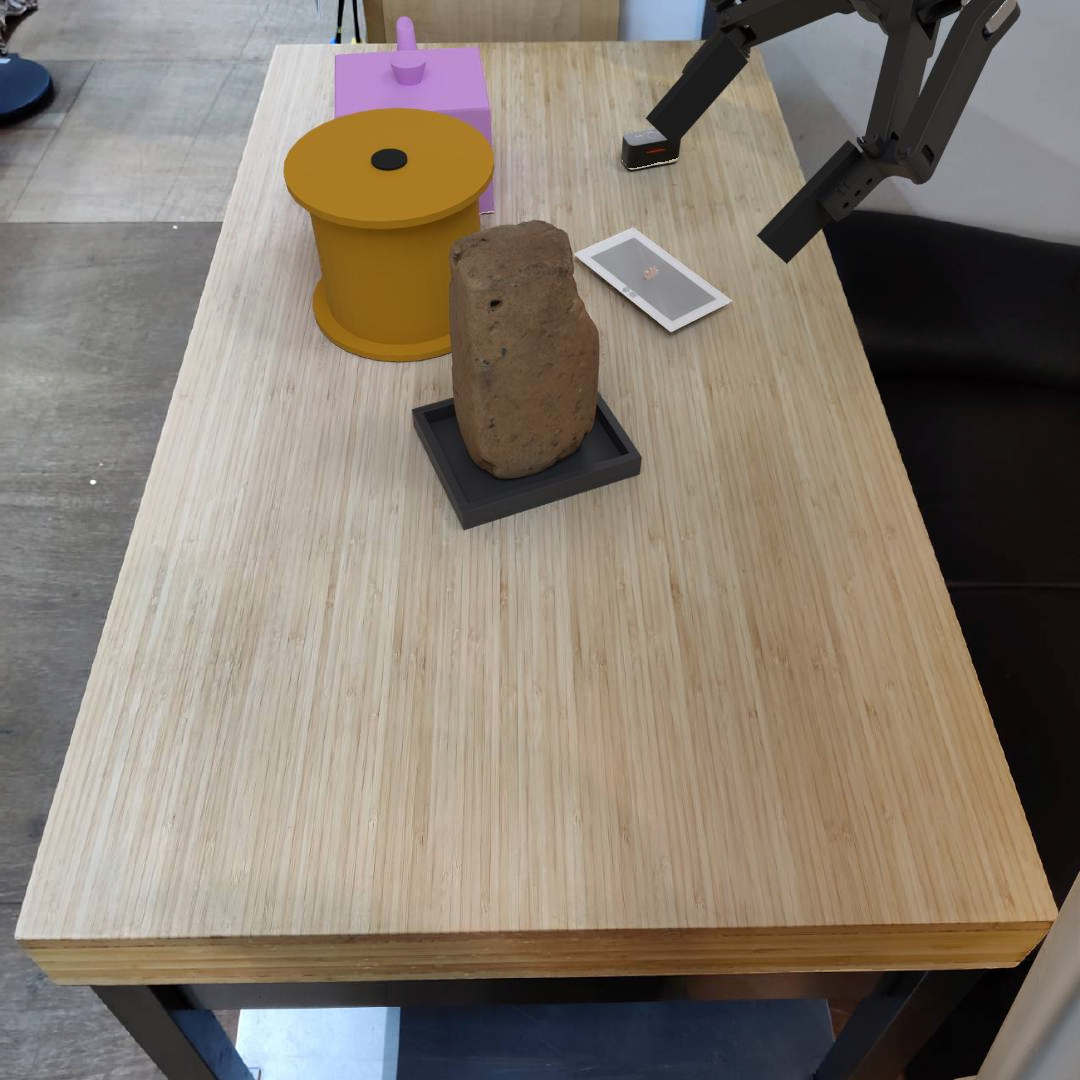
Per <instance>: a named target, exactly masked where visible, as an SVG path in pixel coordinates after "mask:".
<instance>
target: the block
mask: <svg viewBox="0 0 1080 1080" xmlns="http://www.w3.org/2000/svg"><path fill="white" fill-rule="evenodd" d="M573 258H574V253H573V250H572V246H571V241H570V238H569V234H568V232H566V231H565V230H564V229H562V228H558V227H557V226H555V225H554V224H553V223H550V222H547V221H545V220H539V219H533V220H529V221H522V222H520V223H517V224H508V223H507V224H499V225H495V226H492V227H489V228H486V229H483V230H480V231H479V232H476V233H473V234H470V235H468V236H465V237H463V238H461V239H459V240H457V241H455V242H454V243H453V245H452V246H451V248H450V252H449V265H450V273H451V280H450V284H449V321H450V343H451V352H450V353H451V380H452V383H451V384H452V396H453V397H454V406H455V411H456V417H457V421H458V424H459V428H460V431H461V435H462V437H463V440H464V442H465V445H466V447H467V449H468V452H469V454H470V457H471V458H472V460H473V461H474V462H475V464H476V465H477V466H479V467H480V468H481V469H486V470H487V471H488V472H490V473H491V474H493V475H494V476H495V477H498V478H502V479H507V478H519V477H524V476H528V475H533V474H536V473H539V472H541V471H543V470H545V469H546V468H548V467H550V466H552V465H553V464H554V463H555V462H556V461H561V460H563V459H564V458H566V457H568V456H570V455H572V454H573V453H574V452H575V451H576V449H577V448H578V447H579V446H580V444H581V441H582V440H583V439H585V436H586V435H587V434H588V433H589V432H590V431H591V429H592V427H593V423H594V418H595V413H596V404H597V395H598V392H599V372H600V353H601V352H600V335H599V329H598V327H597V324H596V323H595V322H594V320H593V319H592V318H591V317H590V314H589V312H588V311H587V308H586V305H585V302H584V301H583V299H582V298H581V296H580V295H579V292H578V286H577V281H576V279H575V277H574V274H575V263H574V259H573ZM453 397H452V398H453Z"/></svg>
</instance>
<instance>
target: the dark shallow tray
mask: <svg viewBox="0 0 1080 1080" xmlns="http://www.w3.org/2000/svg"><path fill="white" fill-rule="evenodd" d="M411 414H412V415H411V416H412V422H413V428H414V430H415V432H416V434H417V436H418V438H419V440H420V442H421V444H422V447H423V448H424V450H425V452H426V455H427V457H428V460H429V461H430V463H431V465H432V467H433V469H434V472H435V473H436V475H437V477H438V480H439V482H440V484H441V486H442V488H443V491H444V492H445V494H446V497H447V499H448V501H449V503H450V505H451V506H452V509H453V511H454V513H455V515H456V517H457V519H458V521H459V523H460V525H461V527H462V529H463V530H464V531H465V530H469V529H471V528H475V527H478V526H481V525H484V524H488V523H491V522H493V521H497V520H501V519H504V518H506V517H509V516H512V515H516V514H519V513H523V512H525V511H529V510H531V509H535V508H538V507H541V506H544V505H548V504H550V503H553V502H557V501H560V500H563V499H565V498H566V499H567V498H569V497H573V496H575V495H579V494H582V493H586V492H588V491H593V490H595V489H597V488H601V487H604V486H607V485H610V484H613V483H616V482H620V481H623V480H626V479H629V478H632V477H636V476H639V475H640V474H641V468H642V459H643V457H642V455H641V454H640V451H639V450H638V449H637V447H636V446H635V444H634V442H632V441H633V440H632V439H631V437H629V435H628V434H627V432H626V431H625V429H624V427H623V426H622V425H621V423H620V421H619V420H618V418H617V417H616V415H614V412H613V411H612V409H611V408H610V406H609V405H608V403H607V402H606V401H605V399H604V398H603V396H602V395H601V393H600V391H598V395H597V404H596V413H595V418H594V423H593V427H592V429H591V431H590V432H589V433H588V434H587V435H586V436H585V439H583V440H582V441H581V444H580V446H579V447H578V448H577V449H576V451H575V452H574V453H573V454H572V455H570V456H568V457H566V458H564V459H563V460H561V461H556V462H555V463H554V464H553V465H552V466H550V467H548V468H546V469H545V470H543V471H541V472H539V473H536V474H533V475H528V476H524V477H519V478H507V479H502V478H498V477H495V476H494V475H493V474H491V473H490V472H488V471H487V470H486V469H481V468H480V467H479V466H477V465H476V464H475V462H474V461H473V460H472V458H471V457H470V454H469V452H468V449H467V447H466V445H465V442H464V440H463V437H462V435H461V431H460V428H459V424H458V421H457V417H456V411H455V406H454V397H450V398H446V399H442V400H439V401H435V402H431V403H428V404H425V405H421V406H418V407H414V408H412V409H411Z"/></svg>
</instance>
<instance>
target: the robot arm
mask: <svg viewBox="0 0 1080 1080" xmlns="http://www.w3.org/2000/svg"><path fill="white" fill-rule="evenodd" d="M736 1H737V0H709V5H710V7H711V8H712V9H713V10H714V13H715V17H716V22H715V23H716V24H715V25H716V26H715V28H714V30H713V31H712V33H711V34H710V35H709V37H707V39H705V41H704V42H703V43H702V45H701V46H700V47H699V48H698V49H697V51H696V52H695V53H694V54H692V57H690V59H689V60H688V61H687V62H686V63H685V64H684V67H683V69H682V71H681V73H682V74H681V76H680V77H679V78H678V79H677V80H676V82H675V83H674V84H673V85H672V86H671V88H670V89H669V90H668V91H667V92H666V93H665V94H664V96H663V97H661V99H660V100H659V101H658V103H657V104H655V106H654V107H653V109H652V110H651V111H650V112H649V113H648V114H647V115H646V116H645V120H647V122H648V123H649V124H650V125H651V126H652V127H653V128H656V129H657V130H658V131H659V132H660V133H661V134H662V135H663V136H664V137H665V138H666V139H667V140H668V141H669V142H671V143H672V144H673V145H674V146H675V145H676V144H677V143H678V142H679V141H680V140H681V141H682V139H683V137H684V136H685V135H686V134H687V133H688V132H689V131H690V129H691V128H692V127H694V125H695V124H696V123H697V122H698V121H699V119H700V118H701V117H702V116H703V114H705V112H707V110H708V109H709V108H710V107H711V106H712V104H713V103H714V102H715V101H716V100H717V99H718V98H719V96H720V95H721V94H722V93H723V92H724V91H725V90H726V88H727V87H728V86H729V85H730V84H731V83H732V81H734V79H735V78H736V77H737V76H738V75H739V74H740V72H742V70H743V69H744V68H745V67H746V66H747V64H748V63H749V61H748V59H749V58H751V48H754V47H756V46H758V45H762V44H764V43H767V42H768V41H771V40H774V39H776V38H778V37H780V36H782V35H785V34H788V33H790V32H792V31H795V30H798V29H800V28H802V27H806V26H808V25H810V24H812V23H814V22H817V21H819V20H820V21H821V20H822V19H824V18H827V17H829V16H831V15H834V14H842V15H849V14H850V15H851V14H853V13H856V12H857V14H858V15H859V17H861V18H862V19H864V20H865V21H866V22H869V23H873V24H877V25H878V26H879V27H880V29H881V31H882V32H883V34H884V35H886V36H887V41H886V45H885V49H884V54H883V58H882V61H881V66H880V70H879V75H878V80H877V83H876V87H875V91H874V96H873V100H872V103H871V108H870V112H869V115H868V116H869V117H868V121H867V125H866V129H865V133H864V135H862V136H861V137H860V136H857V137H856V143H857V145H858V146H859V148H860V149H861V150H862V151H860V150H859V148H858V147H857V146H856V144H854V143H852V142H851V141H850V140H849V139H847V140H846V141H845V142H844V143H843V144H842V145H841V146H840V147H839V148H838V149H837V150H836V152H835V153H833V155H832V156H831V157H830V158H829V159H828V160H827V161H826V162H825V163H824V164H823V165H822V166H821V167H820V168H819V169H818V170H817V171H816V172H815V174H814V175H812V177H811V178H810V179H808V181H807V182H806V183H805V184H804V185H802V187H801V188H800V189H799V190H798V191H797V192H796V194H794V195H793V197H792V198H791V199H790V200H789V201H788V202H787V203H786V204H785V205H784V206H783V207H782V208H781V209H780V210H779V211H778V212H777V213H776V215H775V216H773V217H772V218H771V220H769V222H768V223H767V224H765V226H764V227H763V228H762V229H761V230H760V231H759V232H758V233H756V237H758V239H759V240H760V241H761V243H763V244H764V245H765V246H766V247H767V248H768V249H770V250H771V252H773V253H774V254H775V256H777V257H778V258H779V259H781V260H782V261H783V262H784V263H785V264H786V265H788V264H789V263H790V262H791V261H792V260H793V259H794V258H795V257H796V256H797V255H798V254H799V252H801V250H803V248H805V246H806V245H808V243H810V241H811V240H812V239H813V238H814V237H816V236H817V234H819V232H820V231H821V230H822V229H823V228H824V227H825V226H826V225H827V224H828V223H829V222H830V221H831V220H832V219H834V220H835V221H836V222H839V221H841V220H844V218H846V217H848V216H849V215H850V214H851V213H852V212H853V211H854V210H855V208H857V207H858V206H859V205H860V204H861V202H863V201H864V200H865V198H866V197H868V196H869V195H870V194H871V193H872V192H873V190H874V189H875V188H877V187H878V186H879V185H880V183H881V182H883V181H884V180H886V179H888V178H891V177H898V178H899V177H900V178H903V179H907V180H909V181H911V182H912V183H913V184H914V185H916V186H920V185H924V184H926V183H927V182H929V181H930V180H931V178H932V177H933V175H934V173H935V171H936V169H937V168H938V165H939V163H940V161H941V159H942V157H943V155H944V153H945V151H946V148H947V145H948V144H949V142H950V141H951V138H952V135H953V133H954V131H955V130H956V127H957V125H958V123H959V120H960V119H961V116H962V114H963V112H964V110H965V108H966V106H967V104H968V102H969V100H970V97H971V96H972V93H973V92H974V89H975V87H976V85H977V83H978V80H979V78H980V76H981V74H982V72H983V71H984V69H985V66H986V64H987V63H988V62H987V61H988V59H989V58H990V55H991V53H992V51H993V49H994V48H995V47H996V46H997V45H998V43H1000V41H1001V40H1002V39H1003V38H1004V37H1005V35H1006V34H1007V33H1008V31H1009V30H1010V29H1011V28H1012V27H1013V26H1014V25H1015V23H1016V22H1017V21H1018V19H1019V18H1020V16H1021V13H1022V10H1021V7H1020V5H1019V3H1018V1H1017V0H739V1H740V3H738V2H736ZM958 12H959V13H958ZM956 13H958V15H957V17H956V18H955V20H954V22H953V24H952V25H951V28H950V29H949V32H948V34H947V35H946V38H945V40H944V42H943V44H942V47H941V48H940V51H939V52H938V55H937V57H936V58H935V60H934V61H935V62H934V64H933V65H932V68H931V70H930V72H929V73H928V76H927V79H926V81H925V83H924V85H923V87H922V84H923V80H924V76H925V72H926V66H927V63H928V59H930V58H932V57H933V56H934V53H935V49H936V44H937V40H938V36H939V31H940V28H941V23H942V19H944V18H946V17H949V16H951V15H953V14H956ZM921 88H922V89H921ZM954 1080H1080V871H1079V872H1078V873H1077V876H1076V878H1075V880H1074V882H1073V884H1072V886H1071V888H1070V890H1069V892H1068V893H1067V896H1066V898H1065V899H1064V901H1063V904H1062V905H1061V908H1060V909H1059V912H1058V914H1057V915H1056V917H1055V919H1054V921H1053V923H1052V926H1051V927H1050V929H1049V931H1048V933H1047V935H1046V938H1045V939H1044V941H1043V943H1042V945H1041V947H1040V949H1039V951H1038V953H1037V955H1036V957H1035V959H1034V961H1033V962H1032V965H1031V967H1030V969H1029V971H1028V973H1027V974H1026V976H1025V979H1024V980H1023V983H1022V985H1021V986H1020V989H1019V991H1018V993H1017V995H1016V997H1015V998H1014V1001H1013V1002H1012V1005H1011V1007H1010V1009H1009V1011H1008V1013H1007V1015H1006V1017H1005V1019H1004V1021H1003V1023H1002V1024H1001V1026H1000V1028H999V1031H998V1032H997V1034H996V1036H995V1038H994V1041H993V1042H992V1044H991V1046H990V1048H989V1051H988V1052H987V1054H986V1056H985V1058H984V1060H983V1062H982V1064H981V1066H980V1068H979V1070H978V1072H977V1074H976V1075H970V1076H964V1077H958V1078H955V1079H954Z"/></svg>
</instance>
